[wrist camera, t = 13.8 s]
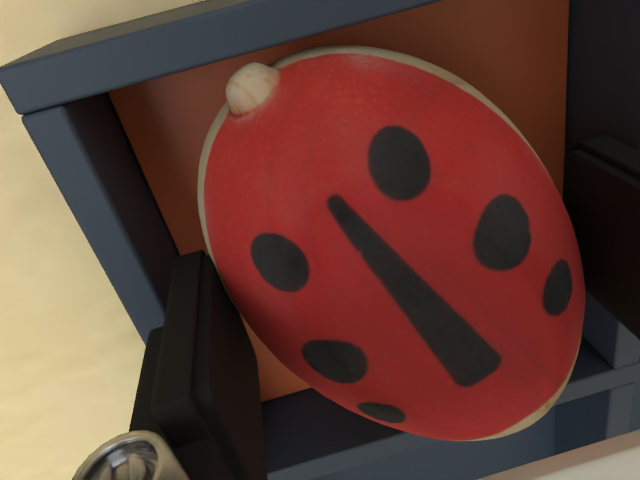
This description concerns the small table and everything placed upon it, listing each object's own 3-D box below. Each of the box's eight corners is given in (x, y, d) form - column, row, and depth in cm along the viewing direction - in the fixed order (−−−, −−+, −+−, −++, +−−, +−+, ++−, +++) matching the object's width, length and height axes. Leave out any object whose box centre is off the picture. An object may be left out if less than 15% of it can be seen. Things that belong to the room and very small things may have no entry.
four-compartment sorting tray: (54, 40, 10) (-9, 70, 7) (1048, -226, 10) (1331, -291, 8) (308, 573, 21) (320, 664, 18) (787, 426, 21) (867, 492, 19)
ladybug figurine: (400, 418, 14) (449, 543, 11) (102, 196, 10) (45, 302, 7) (601, 268, 13) (721, 364, 10) (361, -73, 8) (443, -99, 5)
